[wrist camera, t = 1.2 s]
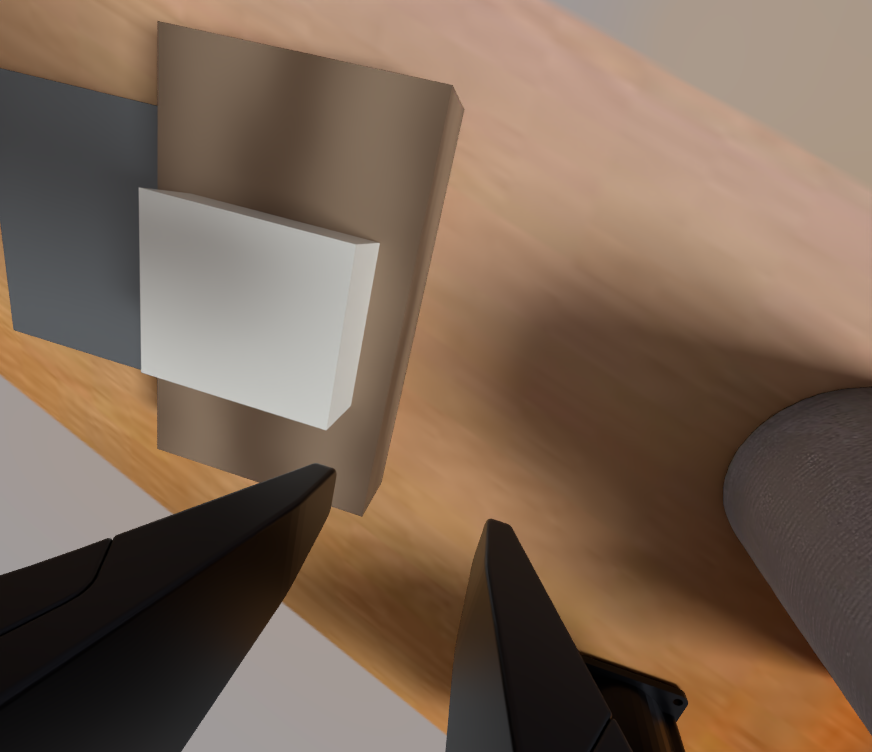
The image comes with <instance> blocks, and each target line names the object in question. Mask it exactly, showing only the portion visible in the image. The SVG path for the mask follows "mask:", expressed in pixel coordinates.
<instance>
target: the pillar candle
mask: <svg viewBox="0 0 872 752" xmlns="http://www.w3.org/2000/svg"><path fill="white" fill-rule="evenodd" d="M723 504H724V508H725V512H726V515H727V518H728V520H729V523H730V525H731V527H732V529H733V531H734V532H735V534H736V536H737V537H738V539H739V541H740V542H741V543H742V545H743V546H744V548H745V550H746V551H747V552H748V554H749V556H750V557H751V558H752V560H753V561H754V563H755V565H756V566H757V568H758V569H759V571H760V572H761V573H762V575H763V576H764V578H765V580H766V581H767V582H768V584H769V585H770V587H771V588H772V590H773V591H774V593H775V595H776V596H777V598H778V599H779V601H780V602H781V604H782V605H783V607H784V608H785V610H786V611H787V613H788V614H789V616H790V617H791V618H792V620H793V621H794V623H795V625H796V626H797V627H798V629H799V630H800V632H801V633H802V635H803V636H804V637H805V639H806V640H807V642H808V643H809V645H810V646H811V647H812V649H813V650H814V652H815V653H816V655H817V656H818V658H819V659H820V661H821V662H822V663H823V665H824V666H825V668H826V669H827V670H828V672H829V673H830V675H831V676H832V678H833V680H834V681H835V682H836V684H837V685H838V687H839V688H840V690H841V691H842V693H843V694H844V696H845V697H846V699H847V700H848V702H849V703H850V705H851V706H852V707H853V709H854V710H855V712H856V713H857V715H858V716H859V718H860V719H861V721H862V722H863V723H864V725H865V726H866V728H867V729H868V731H869V732H870V734H871V735H872V387H869V388H852V389H850V388H847V389H842V390H836V391H831V392H827V393H822V394H818V395H816V396H813V397H811V398H807V399H804V400H802V401H800V402H798V403H796V404H794V405H792V406H790V407H787V408H785V409H784V410H782V411H780V412H779V413H777V414H775V415H774V416H773V417H771V418H770V419H768V420H767V421H766V422H764V423H763V424H762V425H760V426H759V427H758V428H757V429H756V430H755V431H754V432H753V433H752V434H751V435H750V436H749V437H748V438H747V439H746V440H745V442H744V443H743V444H742V445H741V446H740V447H739V449H738V451H737V452H736V454H735V456H734V458H733V460H732V461H731V463H730V465H729V468H728V472H727V474H726V476H725V481H724V487H723Z"/></svg>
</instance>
